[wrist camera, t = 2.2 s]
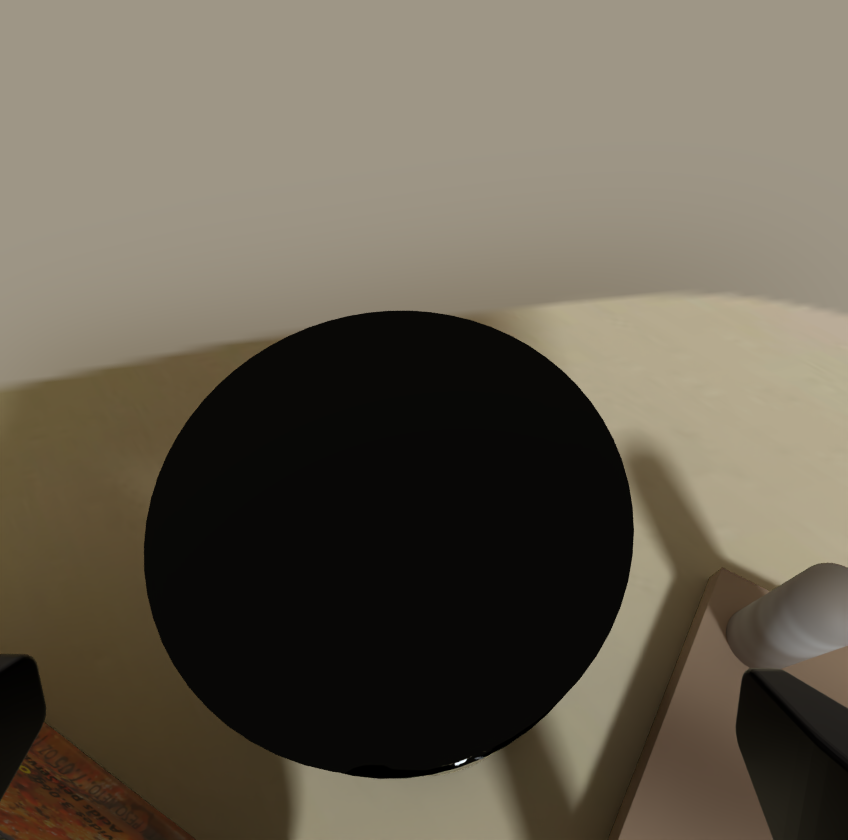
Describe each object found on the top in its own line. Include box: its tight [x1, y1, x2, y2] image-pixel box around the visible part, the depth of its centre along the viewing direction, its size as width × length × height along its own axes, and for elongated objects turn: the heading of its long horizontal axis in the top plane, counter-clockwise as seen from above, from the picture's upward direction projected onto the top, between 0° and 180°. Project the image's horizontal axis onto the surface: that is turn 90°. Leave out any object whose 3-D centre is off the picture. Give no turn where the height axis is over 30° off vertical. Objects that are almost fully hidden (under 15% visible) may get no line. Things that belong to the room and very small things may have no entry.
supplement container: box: [144, 311, 634, 779], centre depth 13 cm, size 7×7×10 cm
